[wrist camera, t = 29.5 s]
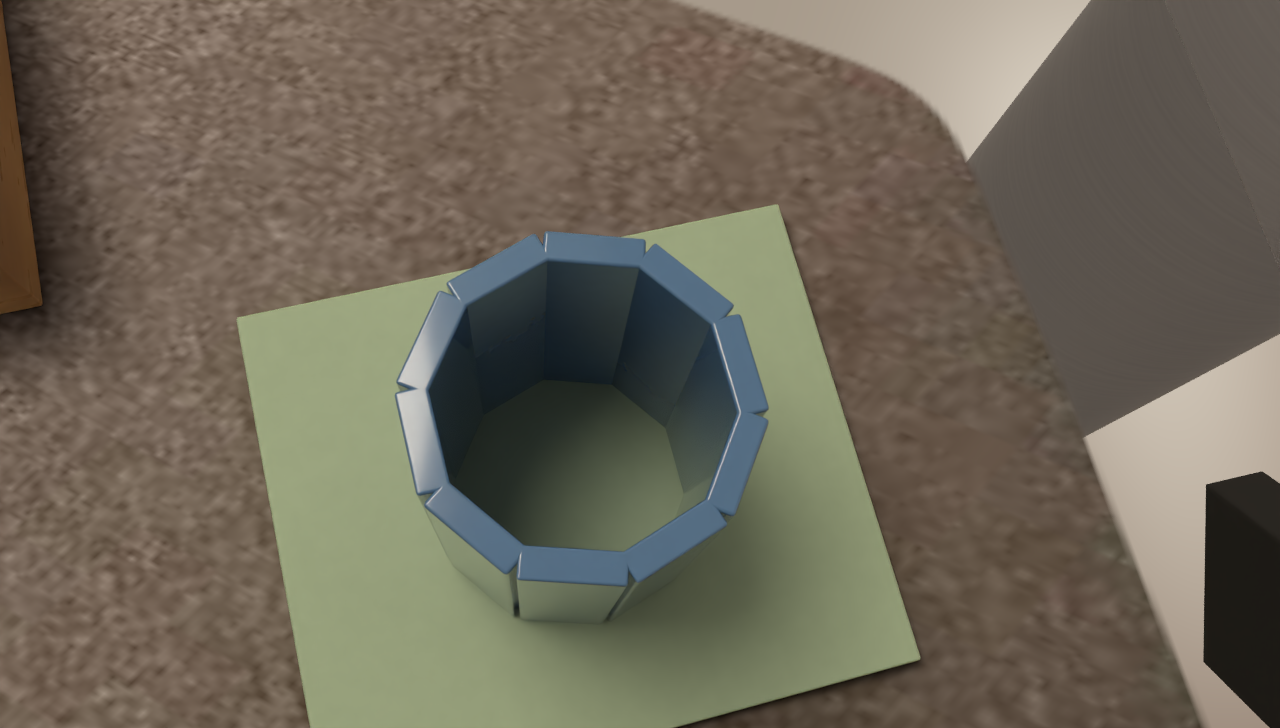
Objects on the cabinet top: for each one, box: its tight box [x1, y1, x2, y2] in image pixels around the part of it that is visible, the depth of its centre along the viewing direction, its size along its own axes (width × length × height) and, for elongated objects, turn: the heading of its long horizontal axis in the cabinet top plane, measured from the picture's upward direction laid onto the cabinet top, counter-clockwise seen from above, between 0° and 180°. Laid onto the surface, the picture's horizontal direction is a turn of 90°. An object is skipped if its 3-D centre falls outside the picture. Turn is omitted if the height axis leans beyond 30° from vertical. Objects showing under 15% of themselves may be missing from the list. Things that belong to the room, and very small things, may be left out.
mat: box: [237, 204, 920, 728], centre depth 29 cm, size 14×12×1 cm
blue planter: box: [395, 231, 769, 625], centre depth 25 cm, size 6×7×8 cm
